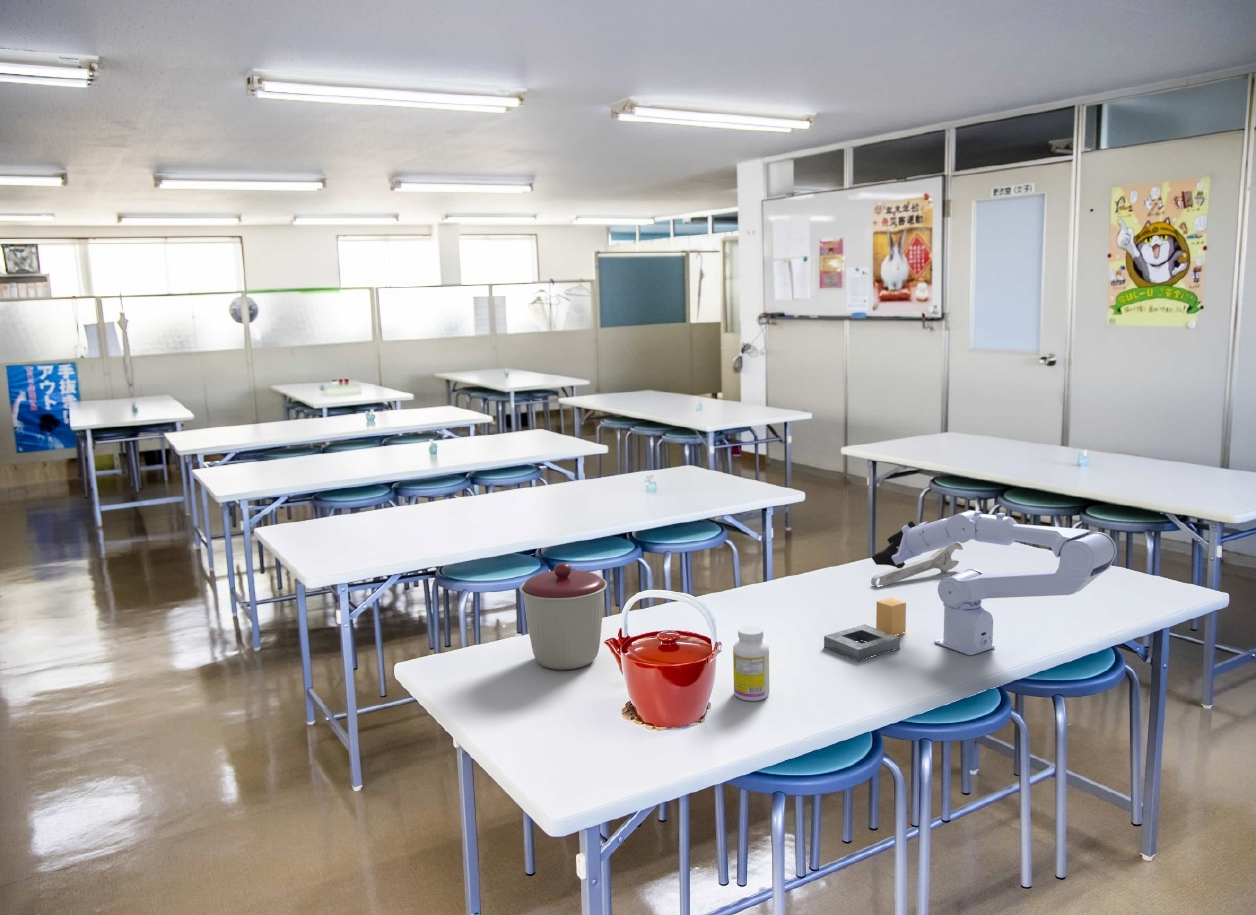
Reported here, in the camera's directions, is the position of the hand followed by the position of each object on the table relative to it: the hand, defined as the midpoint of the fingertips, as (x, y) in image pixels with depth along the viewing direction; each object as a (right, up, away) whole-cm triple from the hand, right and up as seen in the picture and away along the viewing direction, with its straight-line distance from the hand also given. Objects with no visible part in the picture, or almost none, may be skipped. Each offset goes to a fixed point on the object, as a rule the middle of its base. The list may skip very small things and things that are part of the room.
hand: (882, 551), depth 214 cm
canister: (-70, -22, -15) cm, 75 cm away
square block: (+1, -18, -4) cm, 18 cm away
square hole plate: (-8, -19, -13) cm, 24 cm away
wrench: (+18, -11, +35) cm, 41 cm away
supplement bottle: (-34, -24, -35) cm, 54 cm away
